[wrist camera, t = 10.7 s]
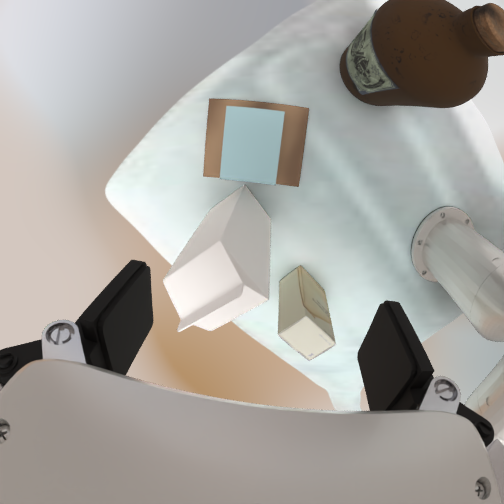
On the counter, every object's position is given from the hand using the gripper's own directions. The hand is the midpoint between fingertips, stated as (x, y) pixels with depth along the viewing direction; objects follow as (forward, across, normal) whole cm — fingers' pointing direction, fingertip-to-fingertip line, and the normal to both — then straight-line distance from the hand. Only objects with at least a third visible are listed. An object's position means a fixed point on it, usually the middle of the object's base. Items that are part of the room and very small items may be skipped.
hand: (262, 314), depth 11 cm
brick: (+26, +3, -5) cm, 27 cm away
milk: (+28, +4, +5) cm, 29 cm away
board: (+28, +3, -5) cm, 28 cm away
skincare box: (+28, -7, +15) cm, 33 cm away
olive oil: (+28, -10, -17) cm, 35 cm away
